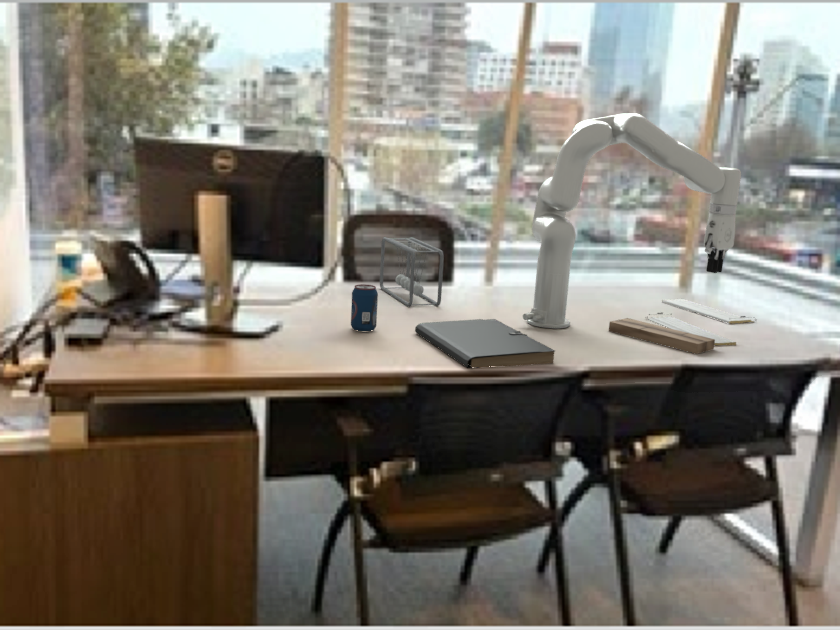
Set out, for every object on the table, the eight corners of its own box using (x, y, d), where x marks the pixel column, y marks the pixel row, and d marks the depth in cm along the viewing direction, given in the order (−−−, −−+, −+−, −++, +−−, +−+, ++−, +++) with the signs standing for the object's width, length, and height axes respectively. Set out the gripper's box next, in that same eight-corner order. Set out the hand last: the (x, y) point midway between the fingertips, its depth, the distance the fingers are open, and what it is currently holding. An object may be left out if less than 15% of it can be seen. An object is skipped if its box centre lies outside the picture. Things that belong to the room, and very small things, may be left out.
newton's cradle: (379, 288, 287) (381, 236, 283) (408, 287, 291) (410, 236, 287) (409, 308, 260) (412, 251, 256) (441, 307, 264) (444, 250, 260)
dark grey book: (556, 349, 209) (467, 356, 200) (555, 365, 210) (466, 372, 201) (495, 317, 239) (415, 322, 230) (494, 331, 240) (414, 336, 231)
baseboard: (706, 348, 235) (735, 347, 239) (707, 338, 235) (737, 337, 238) (643, 321, 263) (670, 320, 266) (644, 312, 262) (672, 312, 266)
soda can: (349, 326, 234) (350, 283, 231) (374, 326, 235) (376, 284, 233) (352, 332, 227) (354, 288, 225) (378, 333, 229) (380, 289, 226)
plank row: (696, 354, 226) (697, 343, 225) (608, 331, 246) (609, 321, 245) (713, 349, 232) (715, 339, 231) (626, 327, 252) (627, 317, 251)
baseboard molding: (688, 302, 296) (661, 304, 291) (689, 294, 296) (662, 295, 291) (757, 323, 269) (728, 326, 264) (758, 314, 268) (729, 316, 263)
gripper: (720, 212, 242) (712, 276, 246) (747, 210, 253) (738, 271, 257) (696, 209, 247) (688, 271, 252) (724, 207, 258) (715, 267, 262)
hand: (714, 271), depth 254 cm, fingers closed
